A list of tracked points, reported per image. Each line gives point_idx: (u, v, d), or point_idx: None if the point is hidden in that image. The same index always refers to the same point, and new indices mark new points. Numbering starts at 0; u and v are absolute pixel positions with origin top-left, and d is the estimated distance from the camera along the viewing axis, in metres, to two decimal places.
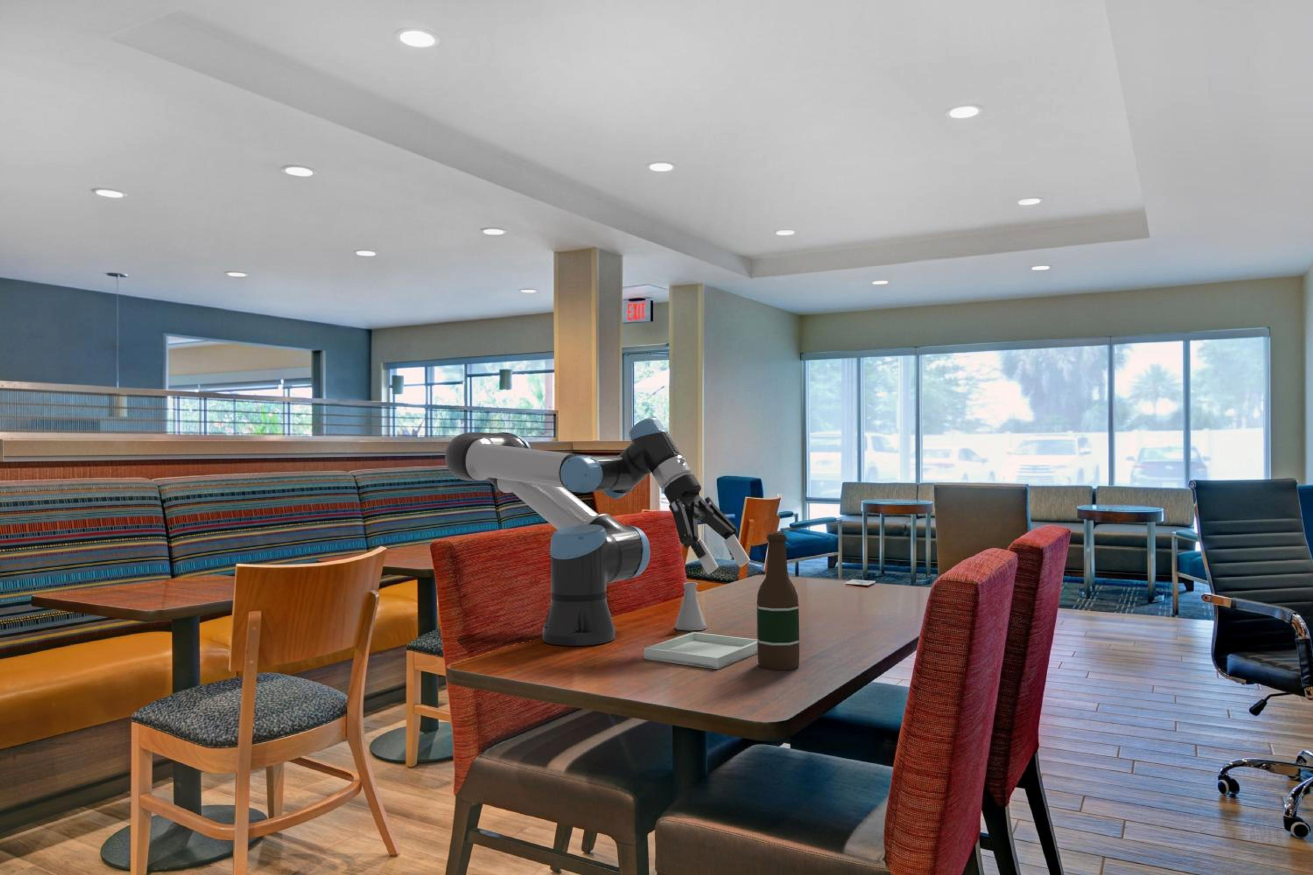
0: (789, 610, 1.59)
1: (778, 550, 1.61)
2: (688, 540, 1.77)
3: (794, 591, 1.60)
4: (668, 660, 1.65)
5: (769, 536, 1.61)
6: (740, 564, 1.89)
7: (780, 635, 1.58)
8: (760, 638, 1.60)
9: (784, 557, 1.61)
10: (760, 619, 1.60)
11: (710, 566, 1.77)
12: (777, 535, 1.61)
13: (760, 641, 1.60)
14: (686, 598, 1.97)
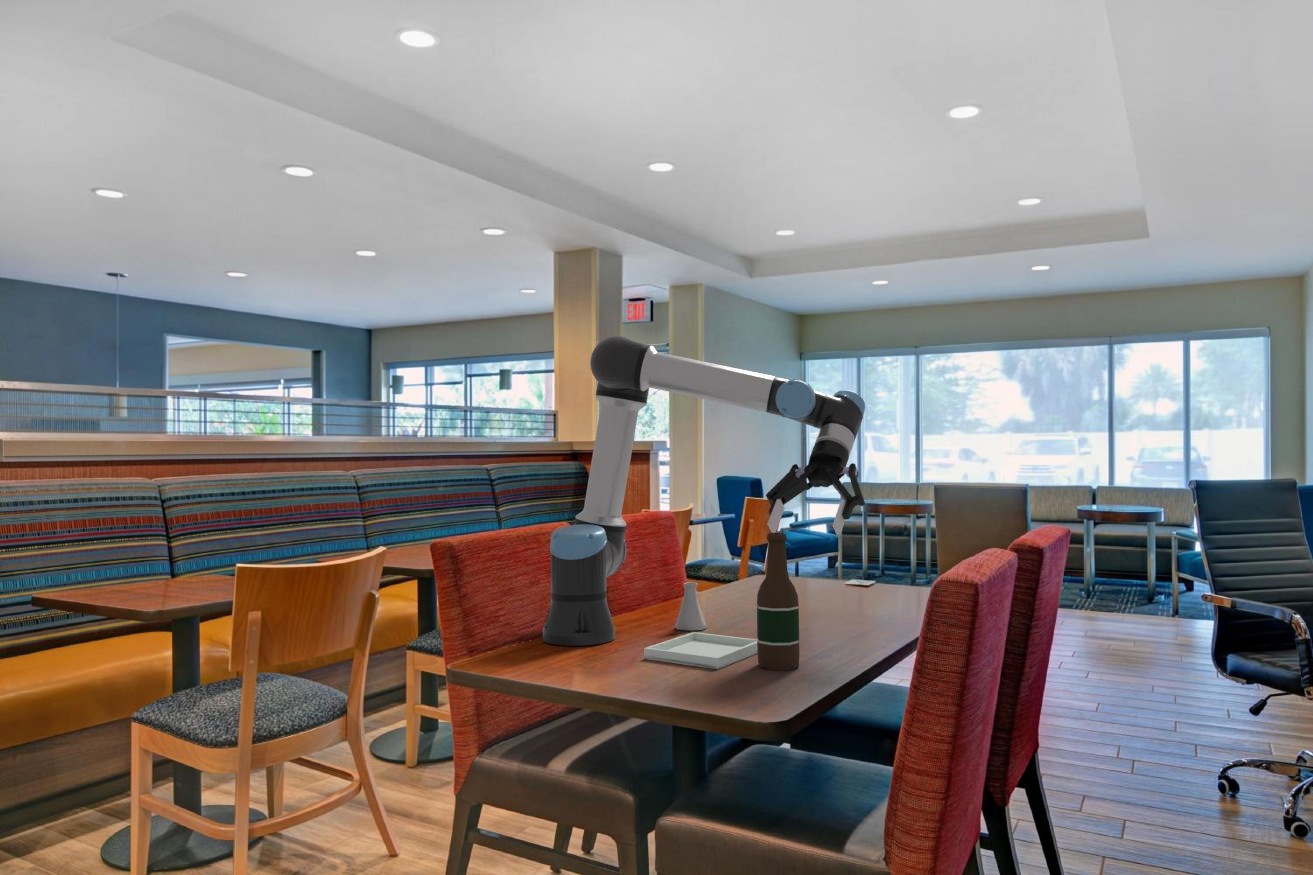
0: (789, 610, 1.59)
1: (778, 550, 1.61)
2: (859, 502, 1.71)
3: (794, 591, 1.60)
4: (668, 660, 1.65)
5: (769, 536, 1.61)
6: (772, 524, 1.75)
7: (780, 635, 1.58)
8: (760, 638, 1.60)
9: (784, 557, 1.61)
10: (760, 619, 1.60)
11: (839, 527, 1.68)
12: (777, 535, 1.61)
13: (760, 641, 1.60)
14: (686, 598, 1.97)
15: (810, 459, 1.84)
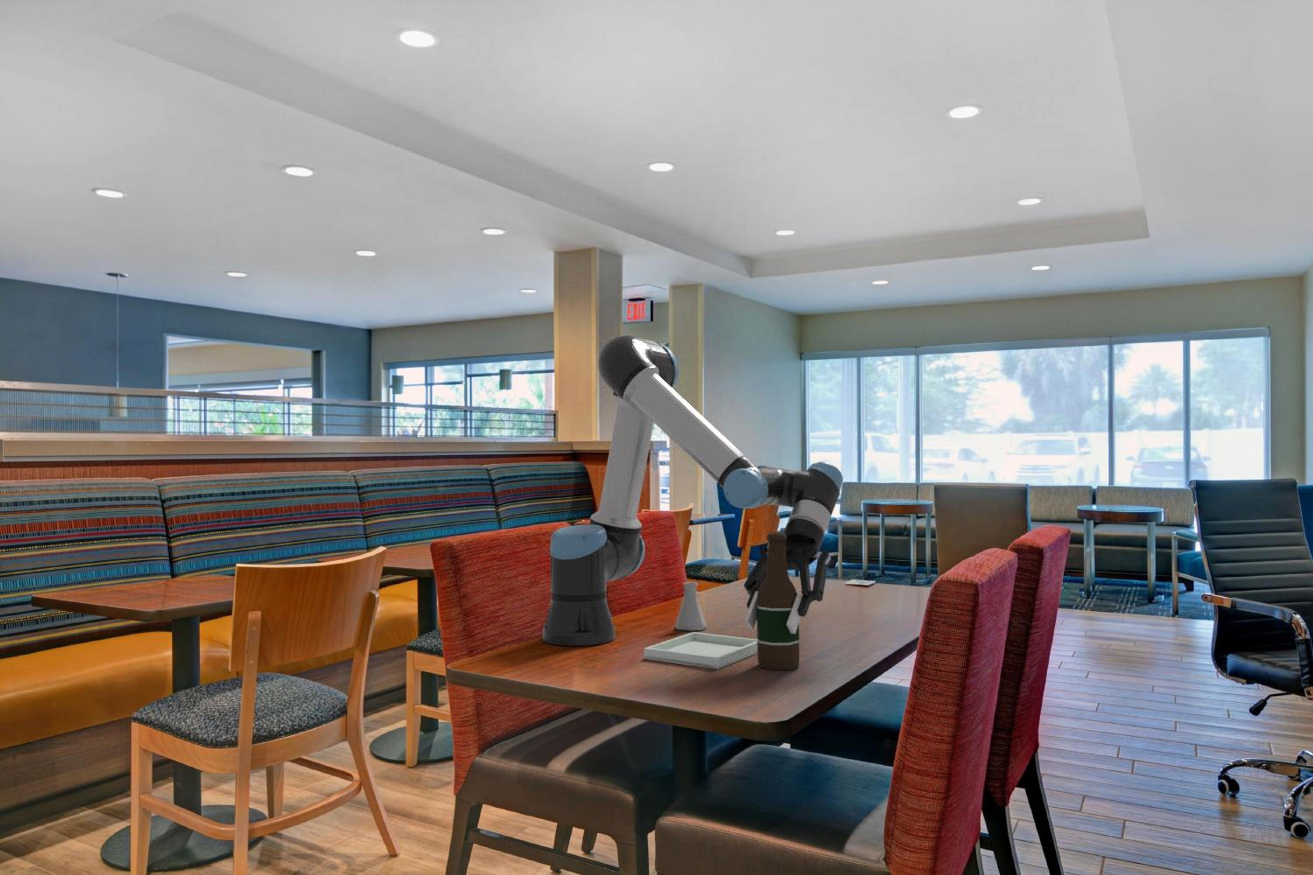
0: (789, 610, 1.59)
1: (778, 550, 1.61)
2: (816, 598, 1.60)
3: (794, 591, 1.60)
4: (668, 660, 1.65)
5: (769, 536, 1.61)
6: (749, 620, 1.61)
7: (780, 635, 1.58)
8: (760, 638, 1.60)
9: (784, 557, 1.61)
10: (760, 619, 1.60)
11: (794, 626, 1.57)
12: (777, 535, 1.61)
13: (760, 641, 1.60)
14: (686, 598, 1.97)
15: None
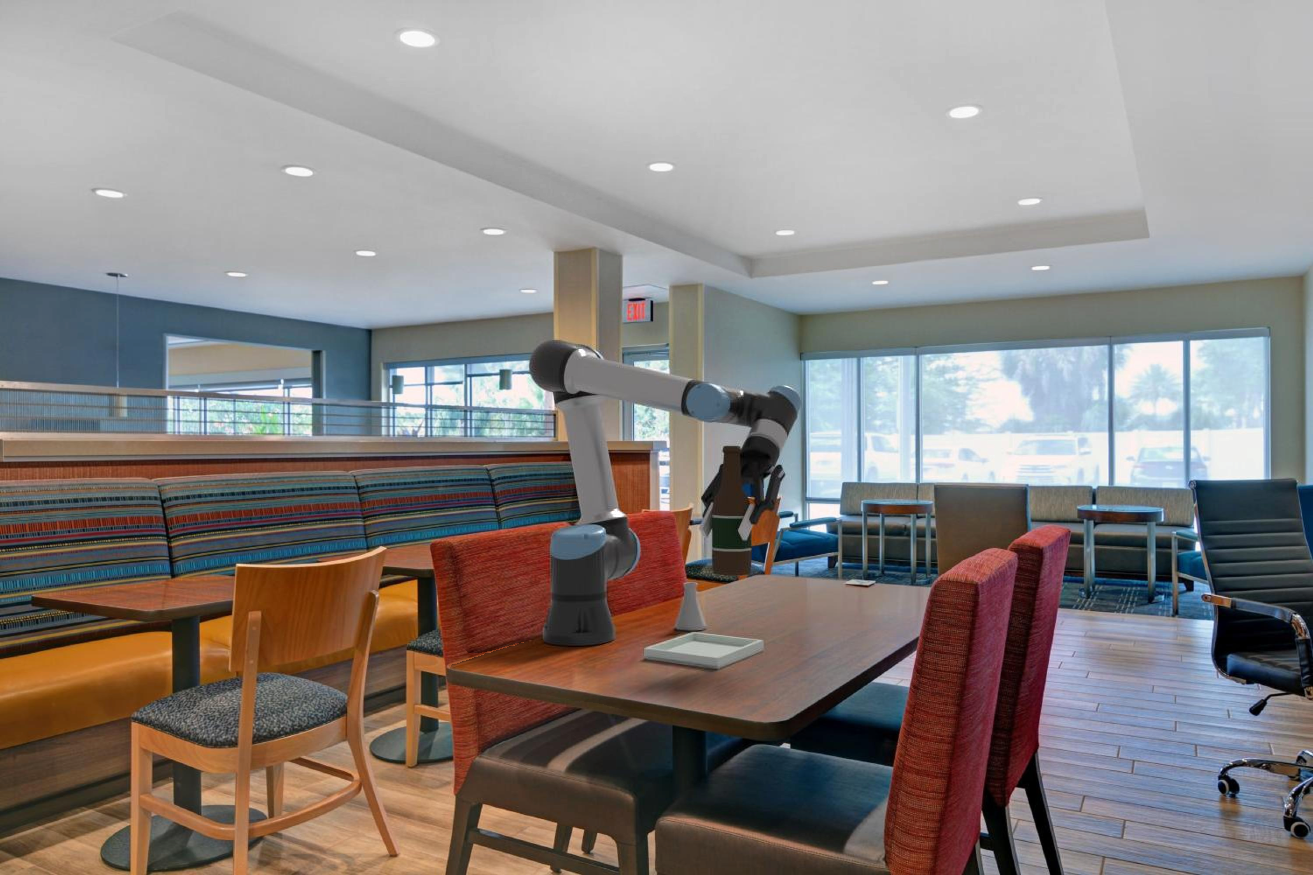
0: (741, 518, 1.65)
1: (732, 461, 1.67)
2: (768, 507, 1.66)
3: (747, 501, 1.67)
4: (668, 660, 1.65)
5: (724, 448, 1.68)
6: (704, 528, 1.67)
7: (732, 542, 1.65)
8: (714, 545, 1.67)
9: (738, 468, 1.67)
10: (714, 527, 1.67)
11: (745, 532, 1.64)
12: (732, 447, 1.67)
13: (714, 548, 1.67)
14: (686, 598, 1.97)
15: (740, 455, 1.78)
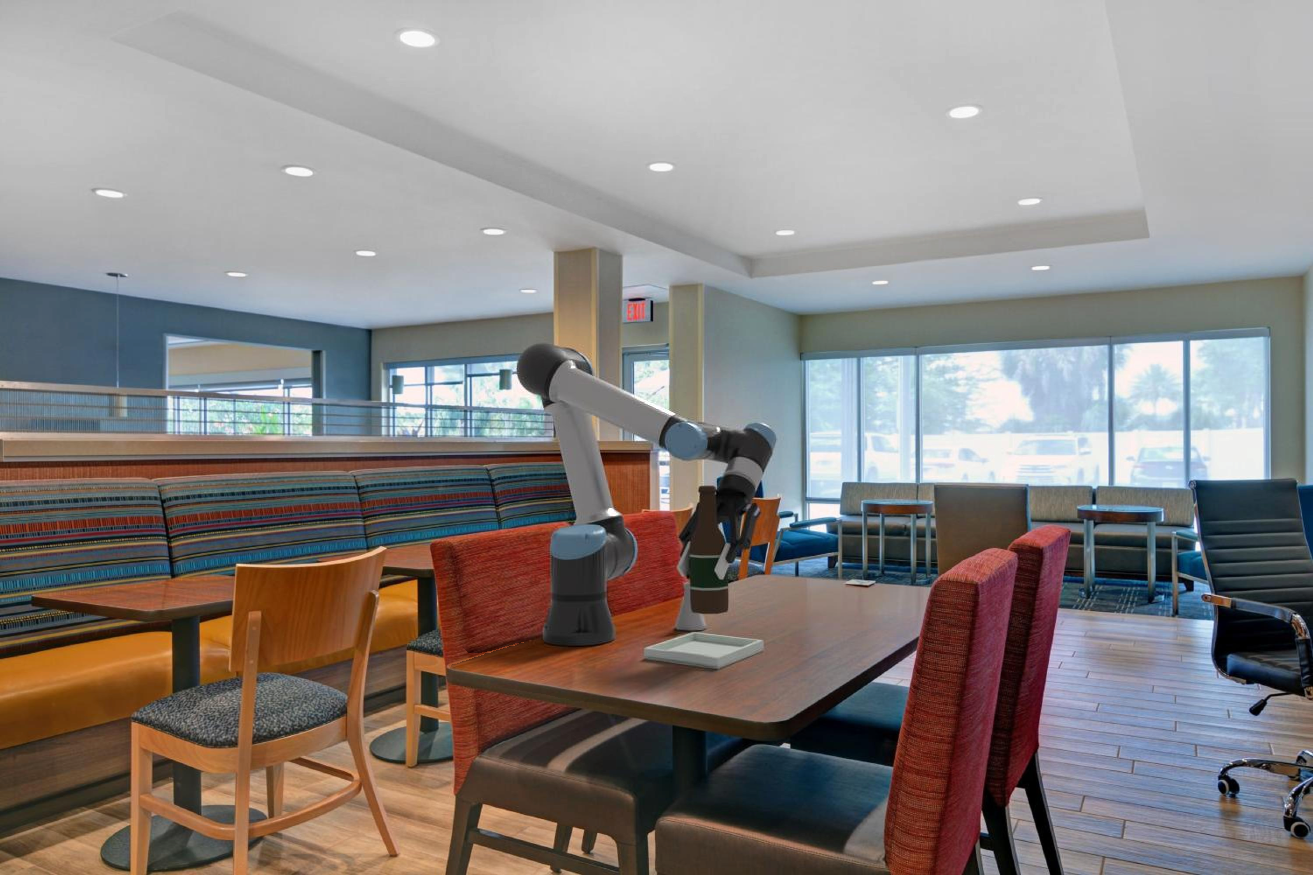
0: (717, 557, 1.68)
1: (707, 501, 1.70)
2: (744, 546, 1.69)
3: (723, 540, 1.70)
4: (668, 660, 1.65)
5: (700, 488, 1.71)
6: (681, 567, 1.71)
7: (709, 581, 1.68)
8: (691, 584, 1.70)
9: (714, 508, 1.71)
10: (691, 566, 1.70)
11: (722, 571, 1.67)
12: (707, 487, 1.70)
13: (692, 587, 1.70)
14: (686, 598, 1.97)
15: (716, 493, 1.81)
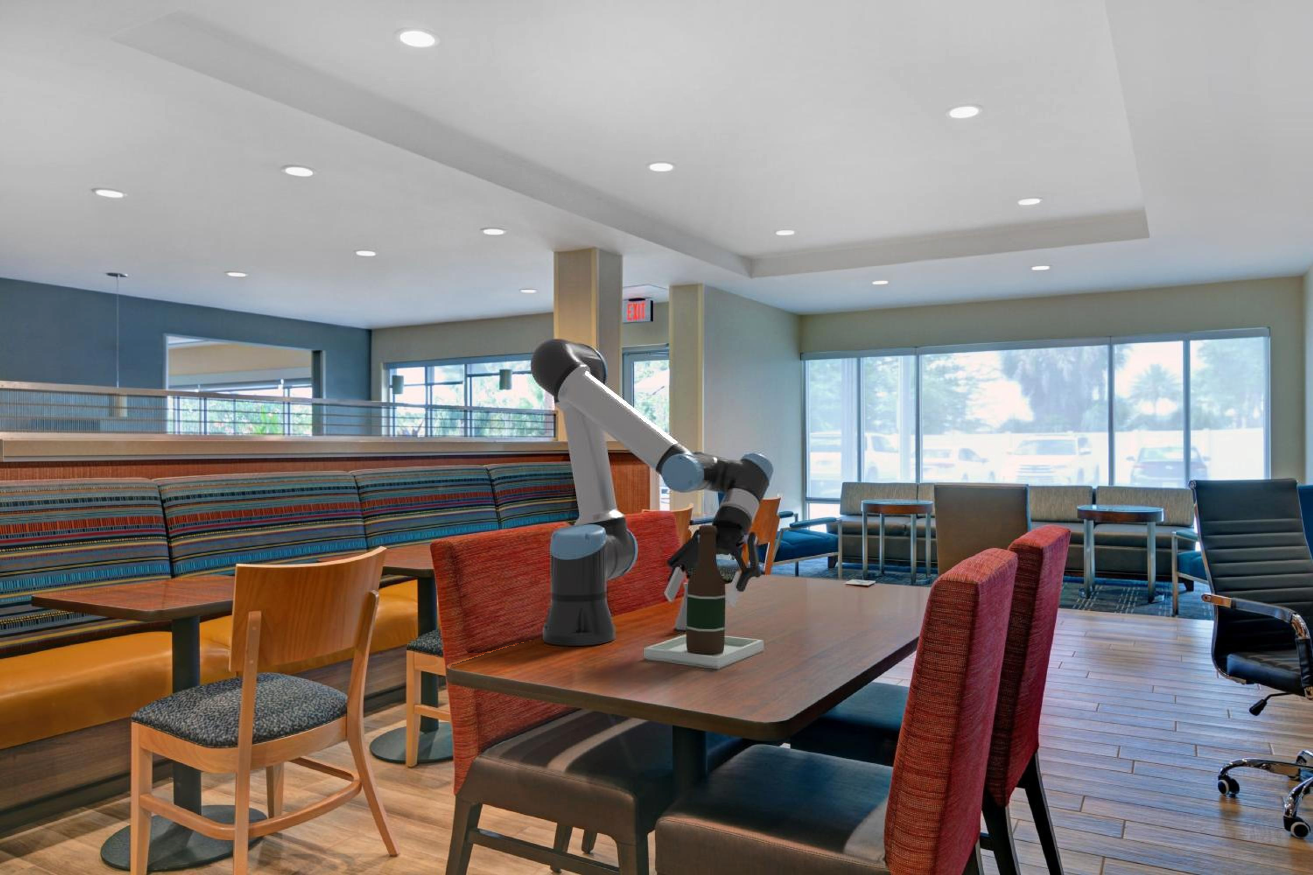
0: (715, 598, 1.68)
1: (707, 541, 1.70)
2: (754, 574, 1.69)
3: (722, 581, 1.70)
4: (668, 660, 1.65)
5: (700, 528, 1.71)
6: (669, 593, 1.73)
7: (706, 622, 1.68)
8: (688, 624, 1.70)
9: (713, 548, 1.71)
10: (689, 606, 1.70)
11: (732, 600, 1.66)
12: (708, 527, 1.70)
13: (688, 627, 1.70)
14: (686, 598, 1.97)
15: (713, 525, 1.81)
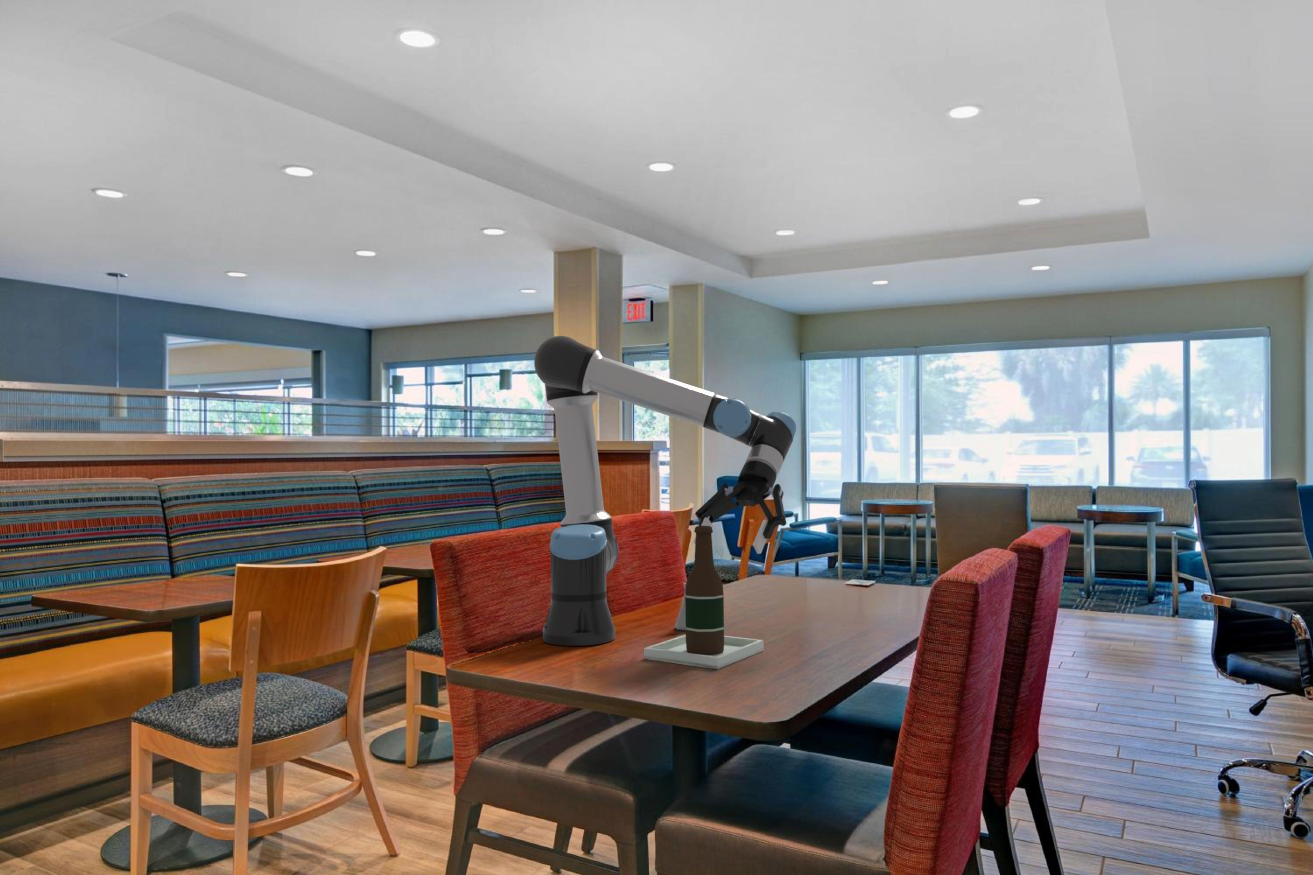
0: (713, 598, 1.68)
1: (704, 542, 1.71)
2: (780, 522, 1.78)
3: (719, 581, 1.70)
4: (668, 660, 1.65)
5: (696, 529, 1.71)
6: None
7: (705, 622, 1.68)
8: (687, 625, 1.70)
9: (710, 549, 1.71)
10: (687, 607, 1.70)
11: (760, 546, 1.75)
12: (703, 528, 1.71)
13: (687, 628, 1.70)
14: None
15: (739, 479, 1.90)
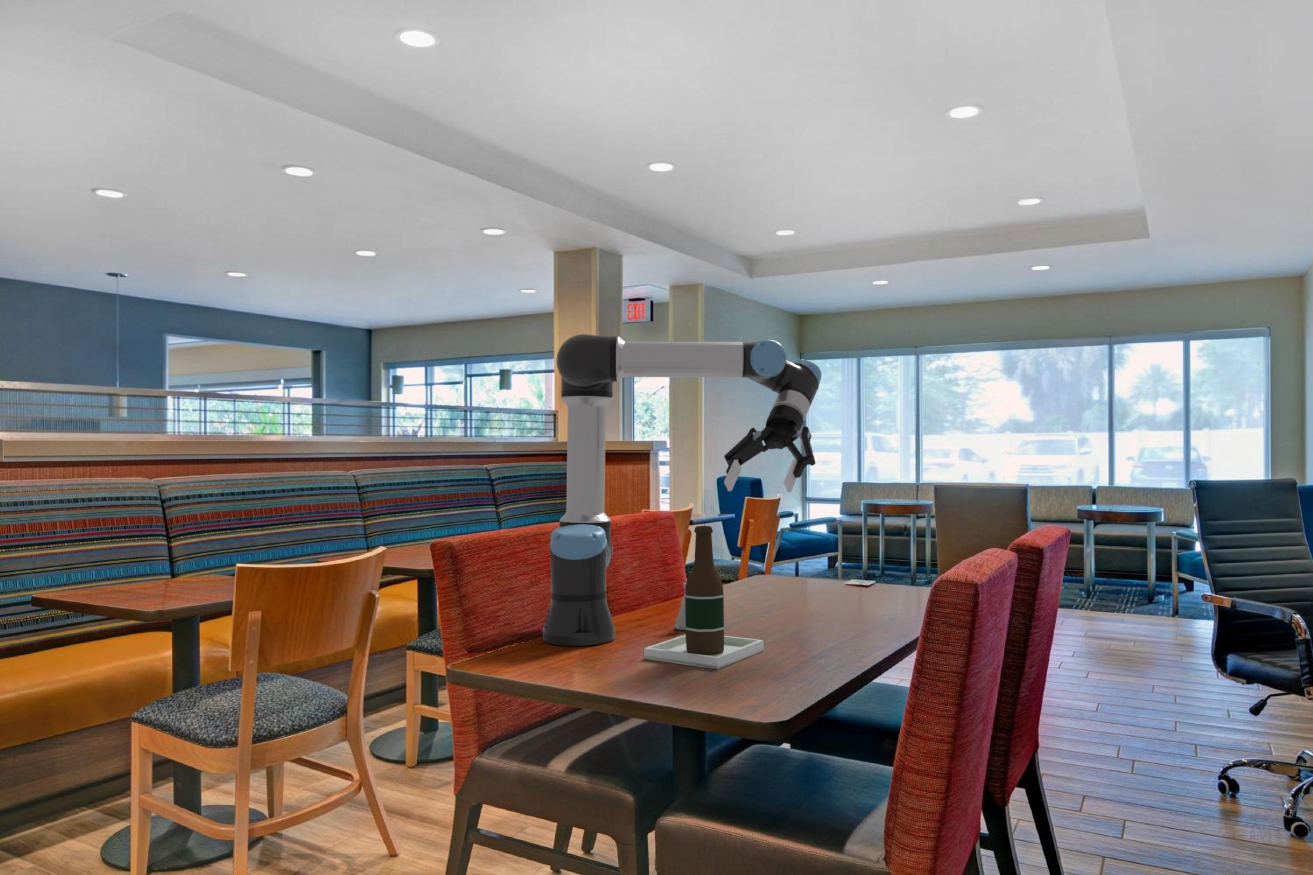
0: (713, 598, 1.68)
1: (704, 542, 1.71)
2: (810, 462, 1.81)
3: (719, 581, 1.70)
4: (668, 660, 1.65)
5: (696, 529, 1.71)
6: (728, 482, 1.85)
7: (705, 622, 1.68)
8: (687, 625, 1.70)
9: (710, 549, 1.71)
10: (687, 607, 1.70)
11: (790, 484, 1.79)
12: (703, 528, 1.71)
13: (687, 628, 1.70)
14: None
15: (767, 423, 1.94)
